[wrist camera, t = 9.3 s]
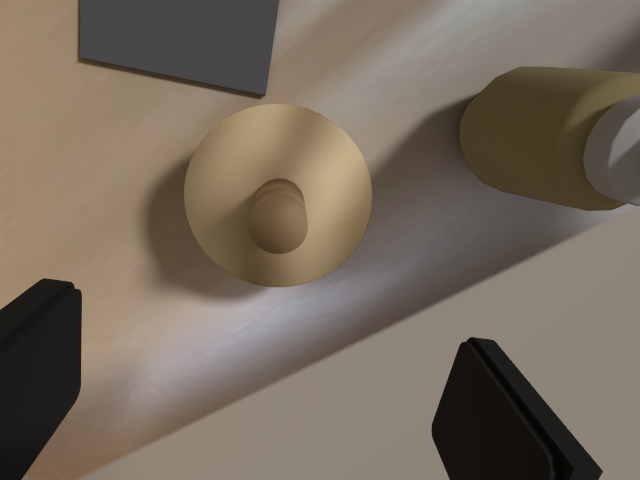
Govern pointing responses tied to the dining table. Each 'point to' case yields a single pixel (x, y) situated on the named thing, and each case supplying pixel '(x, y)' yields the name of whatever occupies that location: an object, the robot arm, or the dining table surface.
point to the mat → (184, 38)
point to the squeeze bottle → (557, 136)
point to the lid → (278, 195)
